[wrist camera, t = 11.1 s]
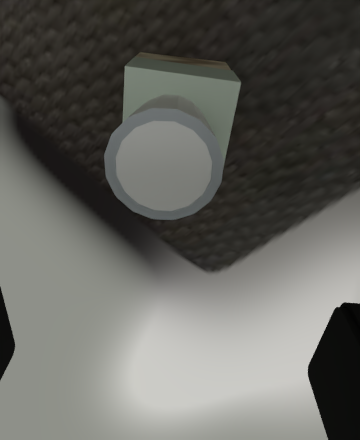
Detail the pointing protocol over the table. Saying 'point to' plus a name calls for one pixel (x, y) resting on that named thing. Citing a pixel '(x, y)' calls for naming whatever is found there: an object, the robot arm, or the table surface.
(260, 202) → the table surface
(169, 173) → the shot glass
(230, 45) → the table surface
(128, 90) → the tower top
